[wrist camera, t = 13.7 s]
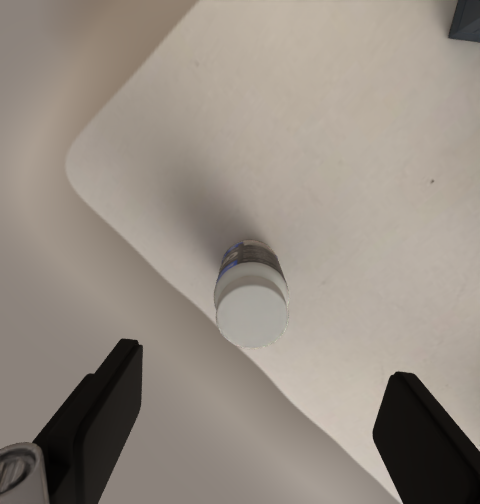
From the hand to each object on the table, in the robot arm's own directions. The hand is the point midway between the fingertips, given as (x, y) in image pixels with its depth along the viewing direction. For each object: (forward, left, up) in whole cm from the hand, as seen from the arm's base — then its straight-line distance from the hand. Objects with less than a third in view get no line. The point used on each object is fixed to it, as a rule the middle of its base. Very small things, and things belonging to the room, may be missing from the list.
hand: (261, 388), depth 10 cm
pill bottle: (0, 0, -13) cm, 13 cm away
